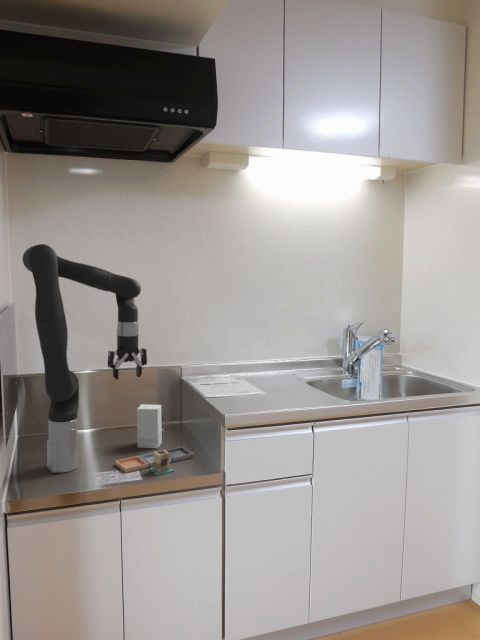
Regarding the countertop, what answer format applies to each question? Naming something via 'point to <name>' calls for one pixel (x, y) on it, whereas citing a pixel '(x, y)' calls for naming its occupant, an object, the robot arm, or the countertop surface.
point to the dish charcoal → (180, 454)
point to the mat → (161, 472)
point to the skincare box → (149, 426)
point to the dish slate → (150, 459)
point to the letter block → (161, 461)
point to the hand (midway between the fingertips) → (127, 377)
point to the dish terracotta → (131, 464)
